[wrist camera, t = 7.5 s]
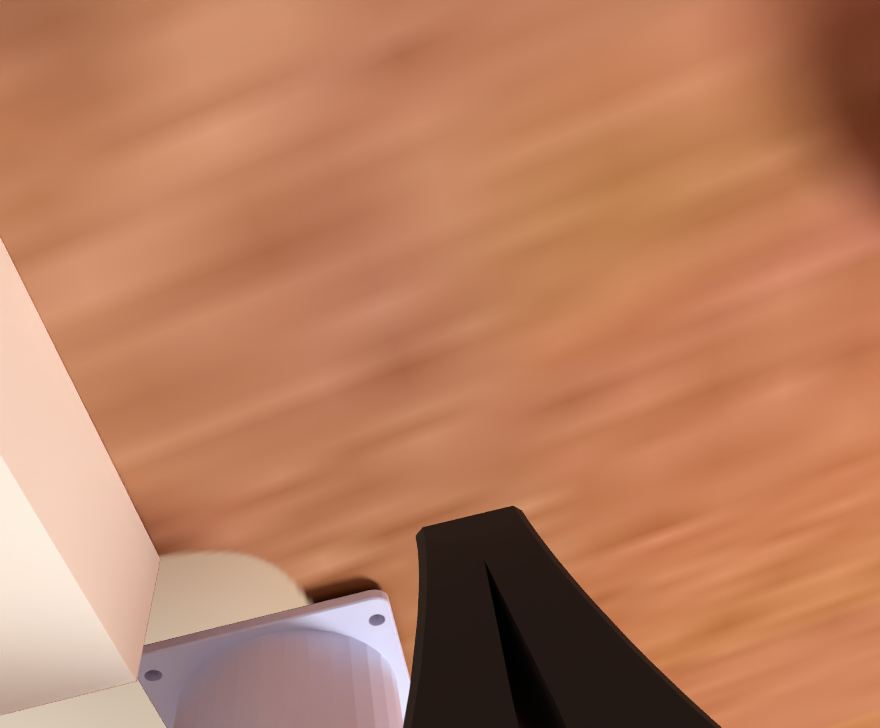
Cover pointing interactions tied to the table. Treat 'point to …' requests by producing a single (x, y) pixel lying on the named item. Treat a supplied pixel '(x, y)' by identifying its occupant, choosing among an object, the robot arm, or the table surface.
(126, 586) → the slot board
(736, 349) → the table surface
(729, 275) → the table surface
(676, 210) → the table surface
